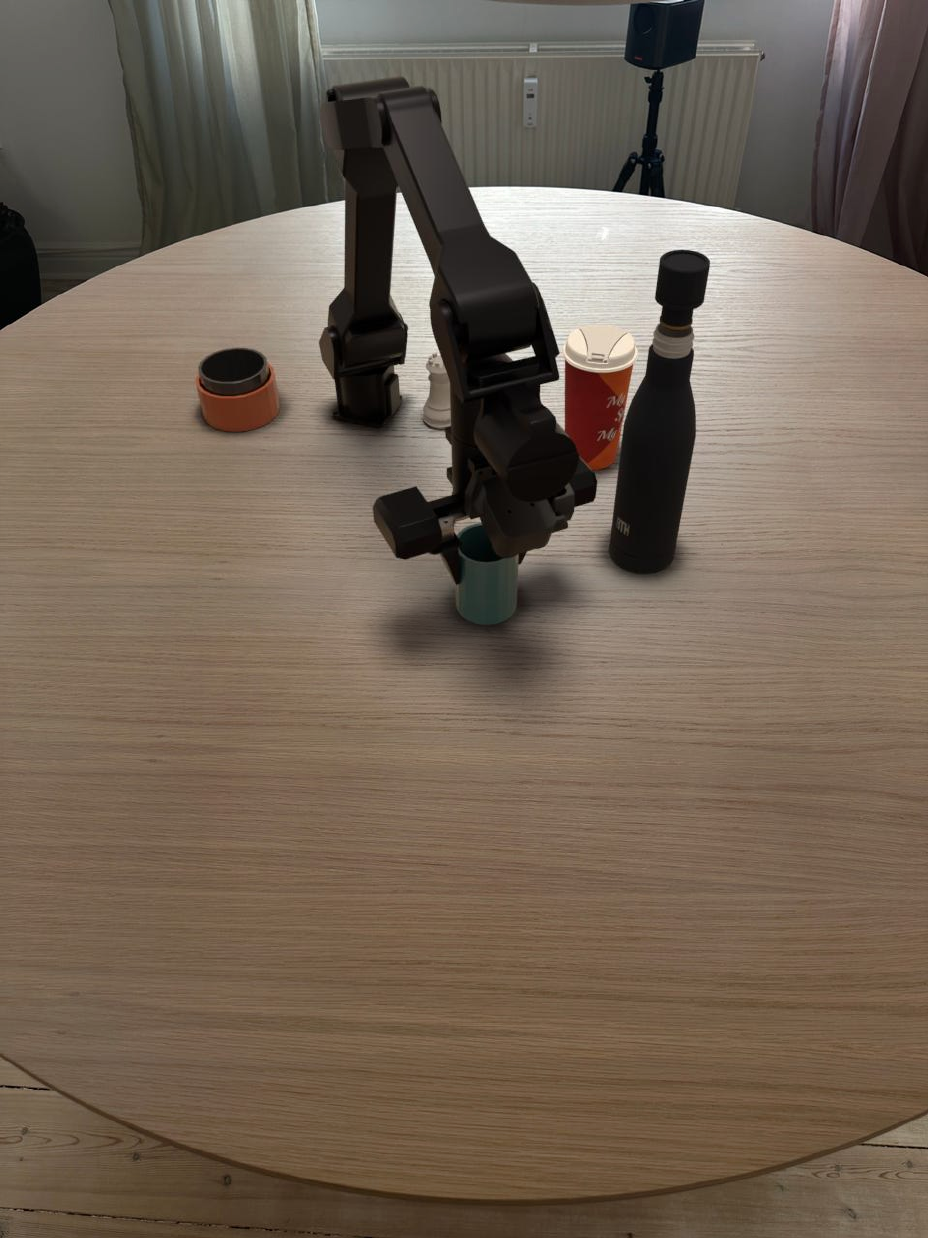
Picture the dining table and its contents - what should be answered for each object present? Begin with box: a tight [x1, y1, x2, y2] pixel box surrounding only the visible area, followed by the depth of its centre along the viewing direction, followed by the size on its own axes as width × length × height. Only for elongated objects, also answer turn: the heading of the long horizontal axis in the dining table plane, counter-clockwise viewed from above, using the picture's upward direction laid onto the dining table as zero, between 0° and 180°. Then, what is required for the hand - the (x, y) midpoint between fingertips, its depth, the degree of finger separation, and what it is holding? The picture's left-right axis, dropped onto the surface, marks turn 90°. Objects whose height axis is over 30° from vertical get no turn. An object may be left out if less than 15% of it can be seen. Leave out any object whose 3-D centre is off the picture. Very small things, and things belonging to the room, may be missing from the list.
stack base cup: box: [195, 361, 281, 433], centre depth 114 cm, size 9×9×4 cm
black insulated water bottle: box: [608, 249, 711, 574], centre depth 86 cm, size 6×6×30 cm
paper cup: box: [561, 324, 639, 471], centre depth 104 cm, size 8×8×14 cm
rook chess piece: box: [422, 352, 451, 430], centre depth 111 cm, size 4×4×8 cm
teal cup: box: [454, 522, 519, 626], centre depth 90 cm, size 6×6×8 cm
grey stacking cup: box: [197, 347, 270, 396], centre depth 114 cm, size 8×8×6 cm
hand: (486, 571), depth 89 cm, fingers closed on teal cup, 6 cm apart
